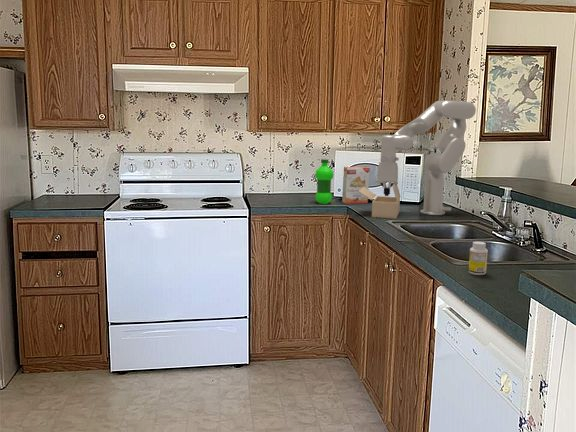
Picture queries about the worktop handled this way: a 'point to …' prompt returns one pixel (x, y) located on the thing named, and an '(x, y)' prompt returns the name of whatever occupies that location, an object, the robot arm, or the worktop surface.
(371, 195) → the flap far
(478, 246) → the supplement bottle
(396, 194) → the flap near
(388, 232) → the worktop surface
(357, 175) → the cracker box
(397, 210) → the carton
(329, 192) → the plastic bottle
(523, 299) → the worktop surface
